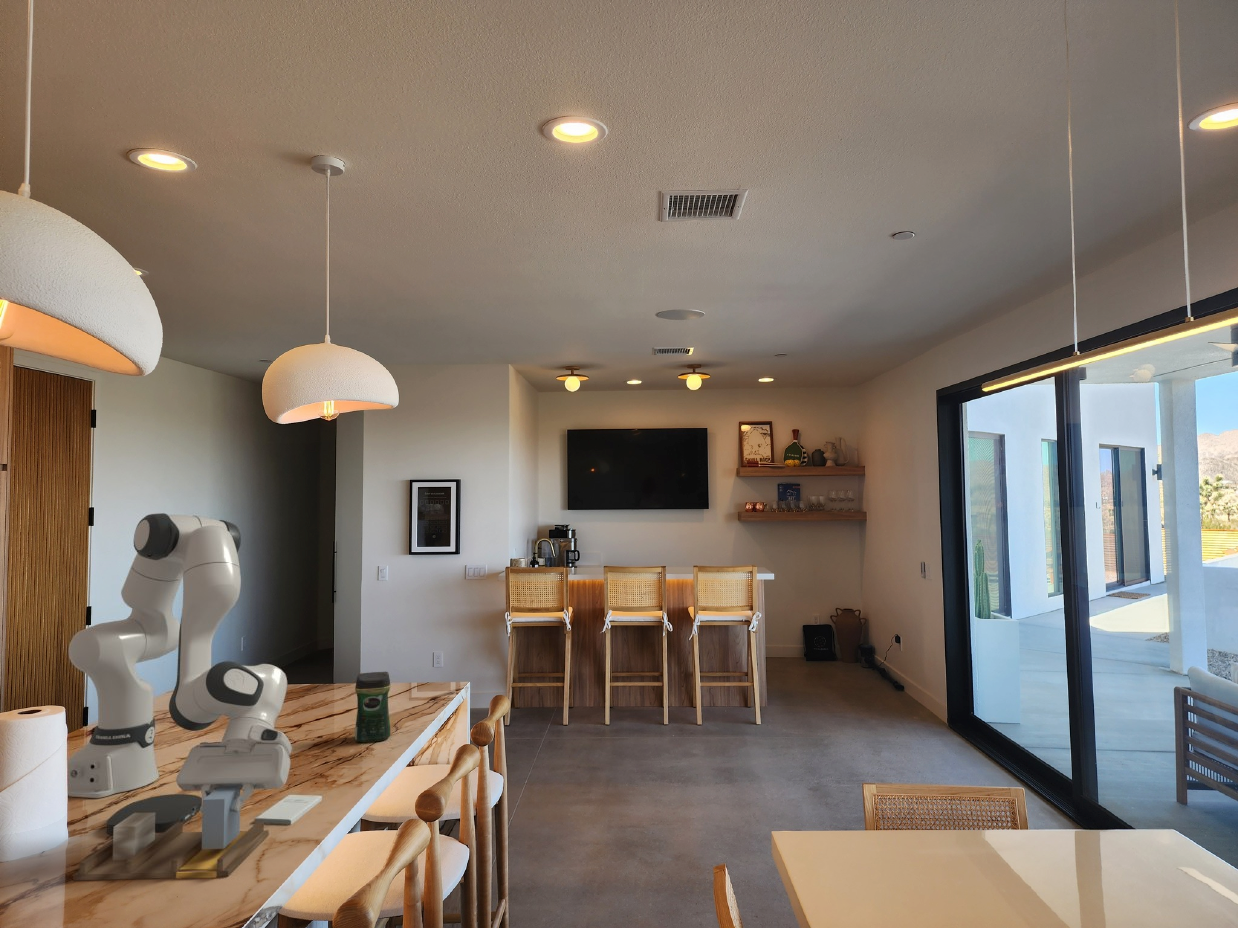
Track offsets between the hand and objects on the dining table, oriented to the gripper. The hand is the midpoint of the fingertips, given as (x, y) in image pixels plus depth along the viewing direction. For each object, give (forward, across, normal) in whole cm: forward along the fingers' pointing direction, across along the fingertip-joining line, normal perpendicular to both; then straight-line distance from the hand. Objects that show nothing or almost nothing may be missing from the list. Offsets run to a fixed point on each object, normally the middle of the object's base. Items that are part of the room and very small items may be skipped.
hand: (219, 810), depth 136 cm
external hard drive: (-8, +5, +21) cm, 23 cm away
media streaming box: (-6, -22, +19) cm, 30 cm away
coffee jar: (-42, +8, +55) cm, 70 cm away
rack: (+6, -8, +6) cm, 12 cm away
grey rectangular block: (+4, 0, +5) cm, 6 cm away
